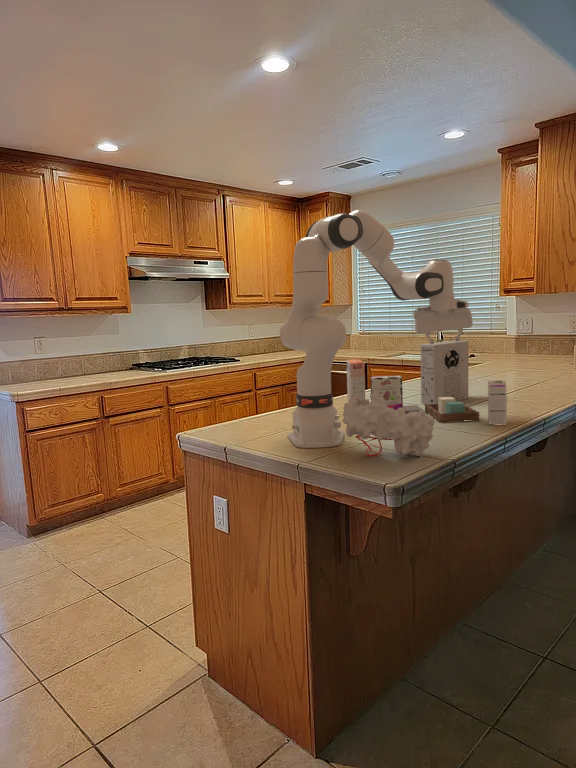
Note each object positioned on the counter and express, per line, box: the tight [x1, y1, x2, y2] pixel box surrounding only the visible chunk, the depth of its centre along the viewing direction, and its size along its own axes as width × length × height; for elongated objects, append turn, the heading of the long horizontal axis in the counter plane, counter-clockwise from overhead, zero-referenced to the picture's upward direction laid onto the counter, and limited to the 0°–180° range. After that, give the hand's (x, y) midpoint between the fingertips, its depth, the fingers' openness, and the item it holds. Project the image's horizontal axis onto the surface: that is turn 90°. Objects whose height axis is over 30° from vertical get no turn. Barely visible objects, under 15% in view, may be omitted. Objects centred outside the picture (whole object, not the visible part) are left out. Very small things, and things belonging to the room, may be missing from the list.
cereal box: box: [420, 340, 469, 405], centre depth 220 cm, size 22×8×25 cm, turn 124°
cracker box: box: [346, 358, 366, 404], centre depth 204 cm, size 14×6×21 cm, turn 179°
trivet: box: [403, 404, 425, 414], centre depth 201 cm, size 10×10×2 cm
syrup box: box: [487, 380, 508, 424], centre depth 177 cm, size 6×6×14 cm
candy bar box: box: [370, 375, 404, 410], centre depth 188 cm, size 11×5×16 cm, turn 76°
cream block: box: [438, 397, 456, 414], centre depth 197 cm, size 5×5×6 cm
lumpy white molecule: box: [342, 393, 435, 457], centre depth 146 cm, size 20×18×25 cm
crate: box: [424, 404, 480, 423], centre depth 192 cm, size 19×14×3 cm
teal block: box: [446, 400, 466, 413], centre depth 187 cm, size 5×5×6 cm
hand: (444, 342), depth 192 cm, fingers open, 8 cm apart
